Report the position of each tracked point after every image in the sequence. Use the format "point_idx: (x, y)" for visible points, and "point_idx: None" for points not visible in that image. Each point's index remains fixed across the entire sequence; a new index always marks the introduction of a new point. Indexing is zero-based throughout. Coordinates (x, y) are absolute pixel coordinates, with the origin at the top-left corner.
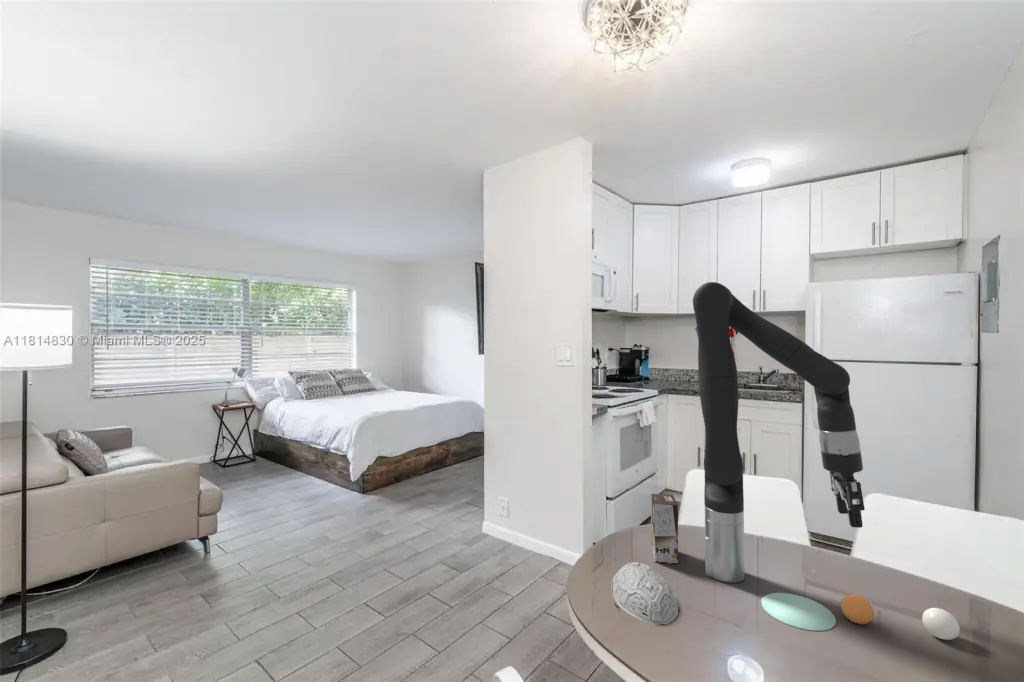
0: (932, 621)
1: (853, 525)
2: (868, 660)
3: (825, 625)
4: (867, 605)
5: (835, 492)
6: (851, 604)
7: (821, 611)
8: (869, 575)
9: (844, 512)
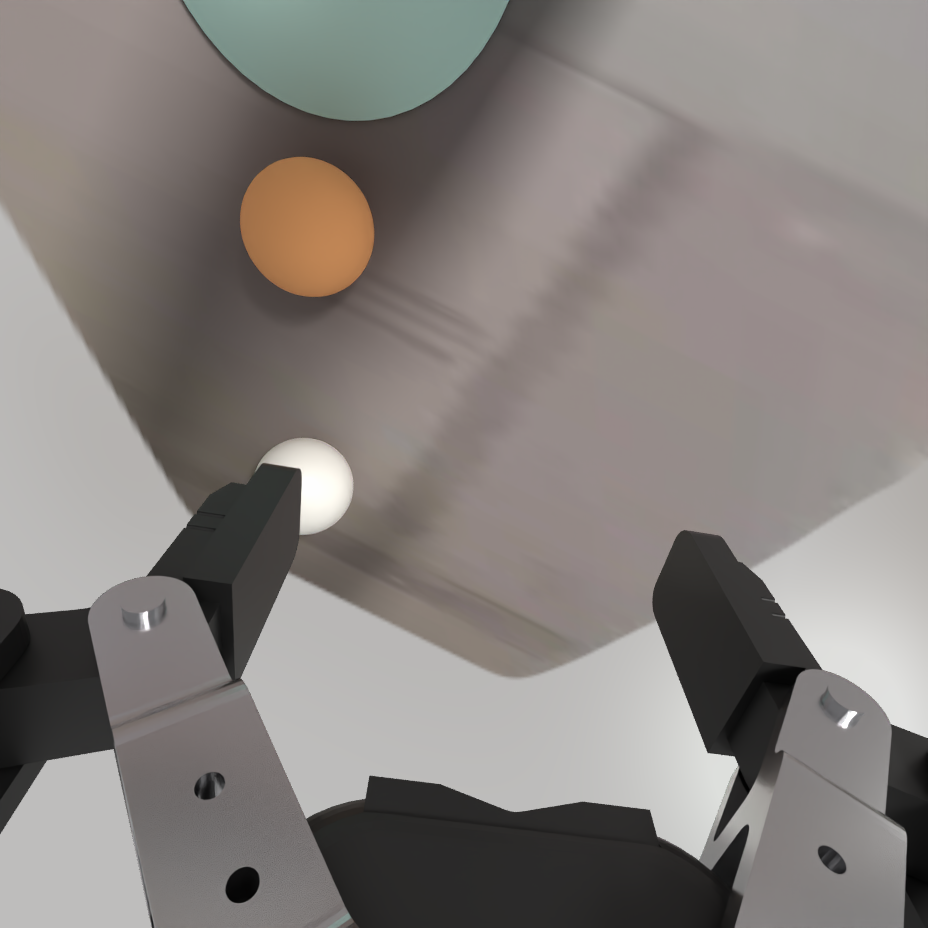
0: (269, 463)
1: (234, 483)
2: (18, 109)
3: (221, 17)
4: (261, 269)
5: (815, 735)
6: (254, 193)
7: (362, 64)
8: (731, 464)
9: (669, 572)
